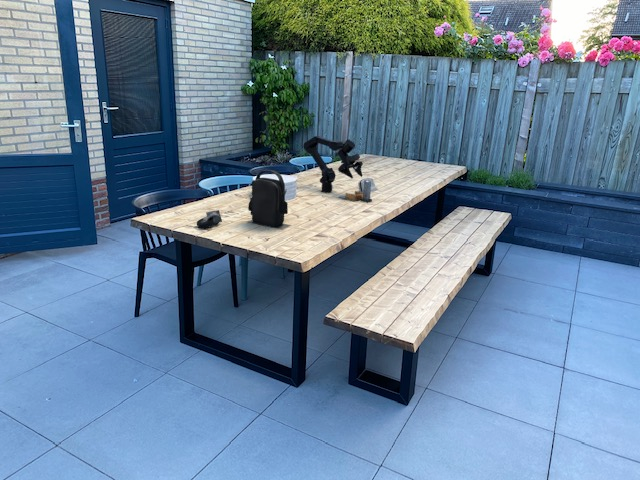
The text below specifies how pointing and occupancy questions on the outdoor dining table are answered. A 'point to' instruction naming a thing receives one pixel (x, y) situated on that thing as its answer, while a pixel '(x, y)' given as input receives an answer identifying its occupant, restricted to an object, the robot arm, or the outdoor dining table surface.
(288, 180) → the plate stack
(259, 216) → the black backpack
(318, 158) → the robot arm
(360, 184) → the hinge
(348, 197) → the keeper cradle
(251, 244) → the outdoor dining table surface
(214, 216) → the caster wheel
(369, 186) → the grey piece
